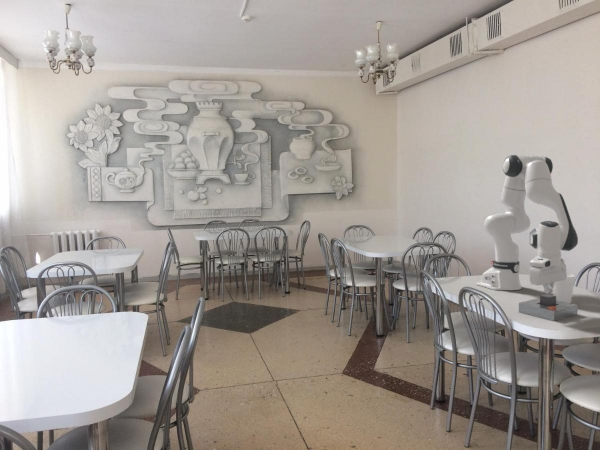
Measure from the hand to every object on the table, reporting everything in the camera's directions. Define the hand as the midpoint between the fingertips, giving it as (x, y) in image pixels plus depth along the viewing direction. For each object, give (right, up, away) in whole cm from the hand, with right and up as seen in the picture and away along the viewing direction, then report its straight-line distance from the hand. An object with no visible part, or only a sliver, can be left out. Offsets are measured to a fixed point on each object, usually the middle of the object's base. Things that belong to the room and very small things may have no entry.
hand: (548, 292), depth 203 cm
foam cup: (+15, -7, +16) cm, 23 cm away
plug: (0, -9, +1) cm, 9 cm away
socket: (0, -9, +1) cm, 9 cm away
